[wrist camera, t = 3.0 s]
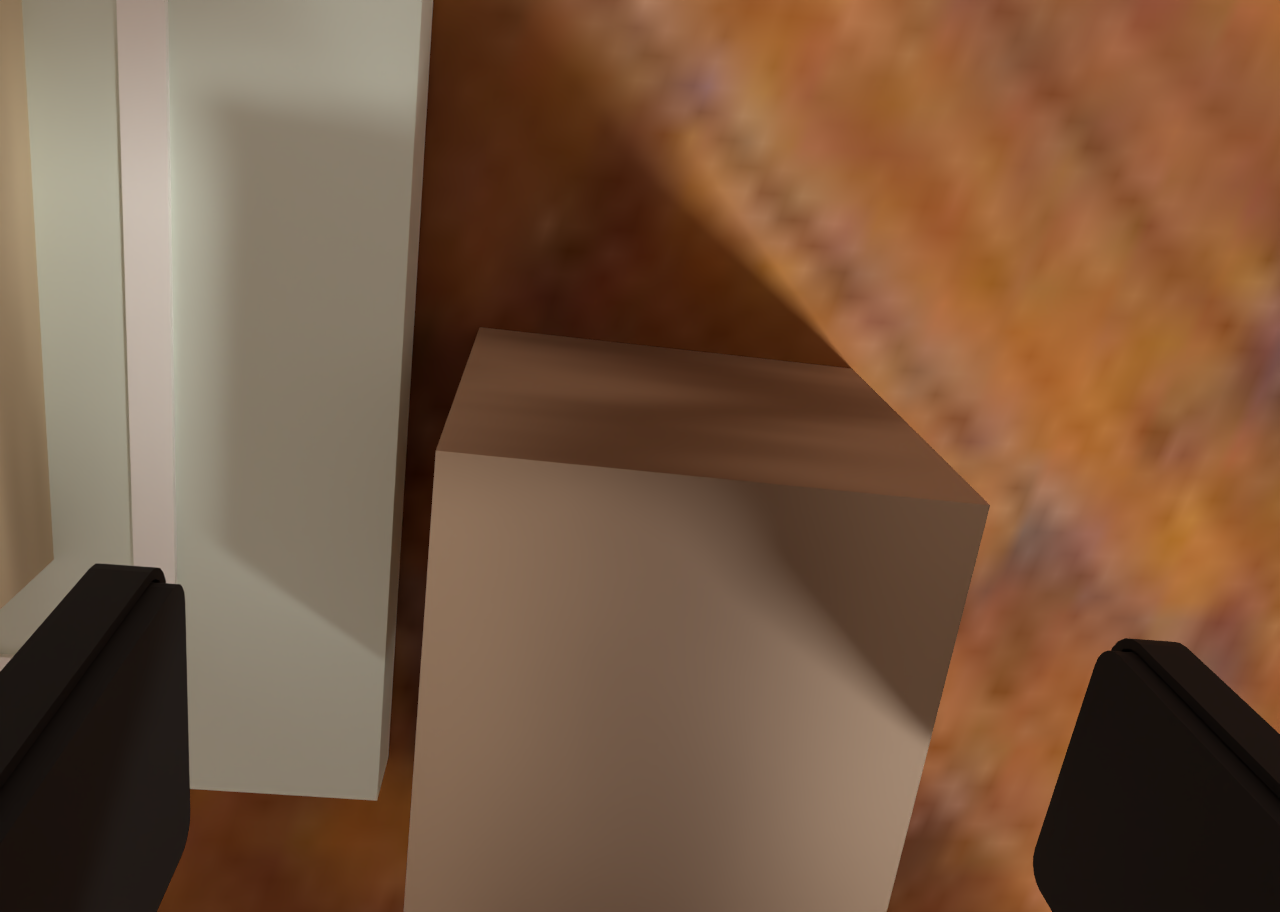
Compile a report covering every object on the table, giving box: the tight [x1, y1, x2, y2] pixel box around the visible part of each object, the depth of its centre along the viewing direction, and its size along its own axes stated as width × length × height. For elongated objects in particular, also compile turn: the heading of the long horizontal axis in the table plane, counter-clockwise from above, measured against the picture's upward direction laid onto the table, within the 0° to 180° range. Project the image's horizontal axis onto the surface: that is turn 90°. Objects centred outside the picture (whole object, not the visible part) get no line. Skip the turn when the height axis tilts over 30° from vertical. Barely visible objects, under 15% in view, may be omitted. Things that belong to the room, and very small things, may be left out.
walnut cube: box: [404, 327, 990, 912], centre depth 15 cm, size 6×6×6 cm
